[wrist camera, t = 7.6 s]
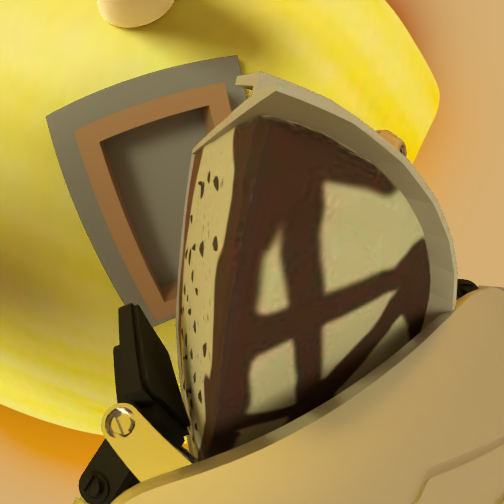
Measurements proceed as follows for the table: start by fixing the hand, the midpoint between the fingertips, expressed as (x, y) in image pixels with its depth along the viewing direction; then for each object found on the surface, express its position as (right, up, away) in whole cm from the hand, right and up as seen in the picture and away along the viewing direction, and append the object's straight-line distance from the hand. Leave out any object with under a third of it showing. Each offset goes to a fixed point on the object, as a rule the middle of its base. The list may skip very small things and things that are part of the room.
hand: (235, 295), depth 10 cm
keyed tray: (-6, +6, +12) cm, 15 cm away
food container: (0, +2, +3) cm, 4 cm away
